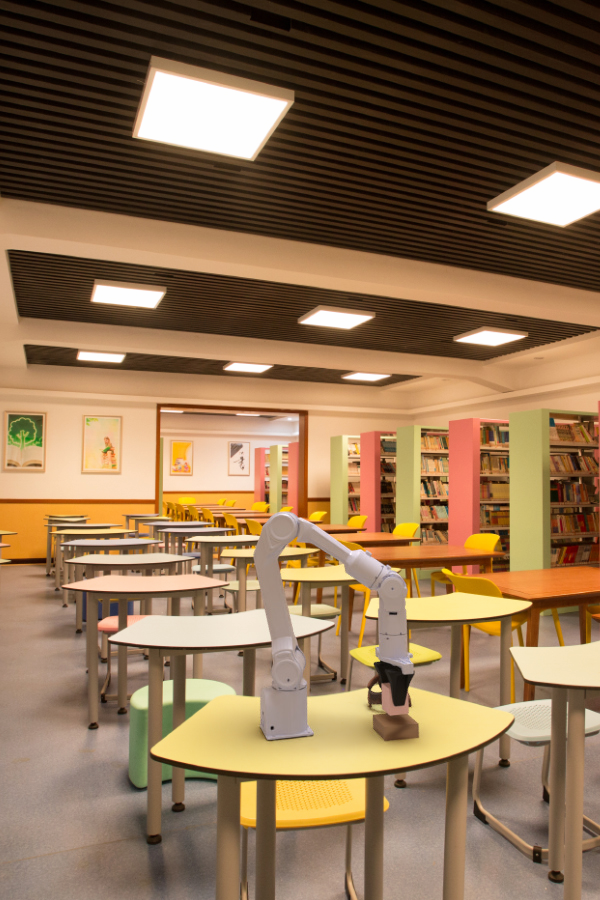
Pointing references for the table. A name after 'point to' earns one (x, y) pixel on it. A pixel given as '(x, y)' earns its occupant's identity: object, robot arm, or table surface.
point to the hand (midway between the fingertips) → (394, 702)
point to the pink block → (388, 702)
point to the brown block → (395, 726)
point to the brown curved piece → (377, 696)
